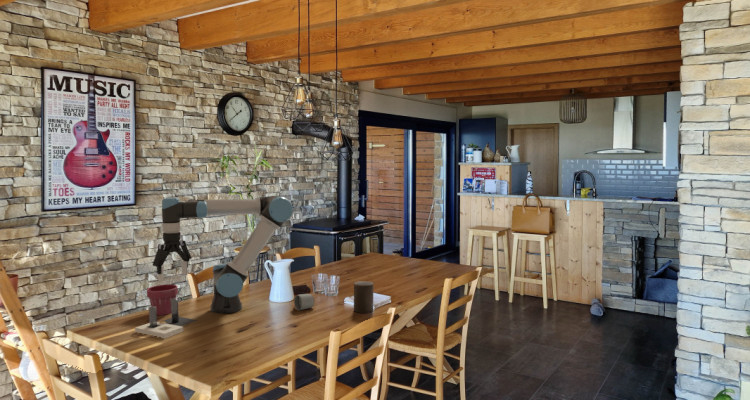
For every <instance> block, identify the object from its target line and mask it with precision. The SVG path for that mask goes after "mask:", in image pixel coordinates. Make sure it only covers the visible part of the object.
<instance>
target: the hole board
mask: <svg viewBox="0 0 750 400" xmlns="http://www.w3.org/2000/svg"><path fill="white" fill-rule="evenodd" d="M160 322H161V321H159V322H158V321H157V327H155V328H150V322H148V323H146V324H142V325H139V326H136V327H134V333H135V332H139V333H143V334H142V335H144V334H148V335H147V336H149V335H153V336H152V337H154V336H157V337H156V338H159V337H161V338H160V339H164V340H165V339H168V338H170V337H174V336H177V335H178V334H180V333H183V332H184V326H176V325H171V324H165V323H160ZM139 333H138V334H139Z"/></svg>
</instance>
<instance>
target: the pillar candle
mask: <svg viewBox="0 0 750 400" xmlns="http://www.w3.org/2000/svg"><path fill="white" fill-rule="evenodd" d="M353 311H354V312H356V313H359V314H368V313H372V312H374V282H372V281H367V280H362V281H361V280H359V281H355V282H354V283H353Z"/></svg>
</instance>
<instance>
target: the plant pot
mask: <svg viewBox="0 0 750 400" xmlns="http://www.w3.org/2000/svg"><path fill="white" fill-rule="evenodd" d="M178 290H179V289H178V285H177V284H172V283H171V284H158V285H153V286H150V287H148V288H146V297H147V298H148V299H149V303H150V307H151V306H156V311H157V316H166V315H170V314H172V313H171V299H172V298H177V296H178V294H179V291H178Z"/></svg>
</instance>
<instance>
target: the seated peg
mask: <svg viewBox="0 0 750 400" xmlns="http://www.w3.org/2000/svg"><path fill="white" fill-rule="evenodd" d="M157 316H158V315H157V311H156V306H151V305H150V306H149V307H148V319H149V322H148V323H150V328H155V327H157V322H158V317H157Z"/></svg>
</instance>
